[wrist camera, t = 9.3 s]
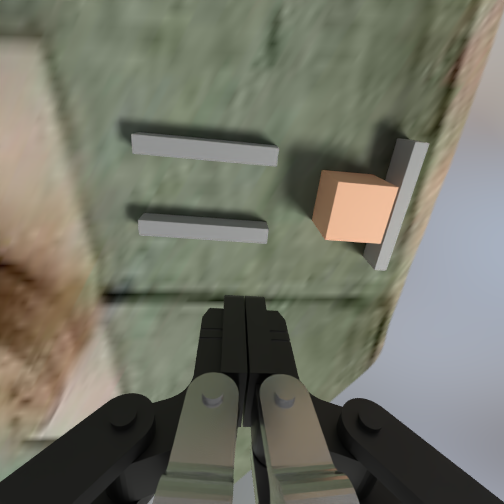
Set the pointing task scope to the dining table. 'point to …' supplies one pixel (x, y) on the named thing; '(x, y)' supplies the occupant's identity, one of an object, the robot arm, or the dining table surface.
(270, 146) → the chute
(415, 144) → the end stop
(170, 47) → the dining table surface
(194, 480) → the robot arm
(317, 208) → the terracotta block
